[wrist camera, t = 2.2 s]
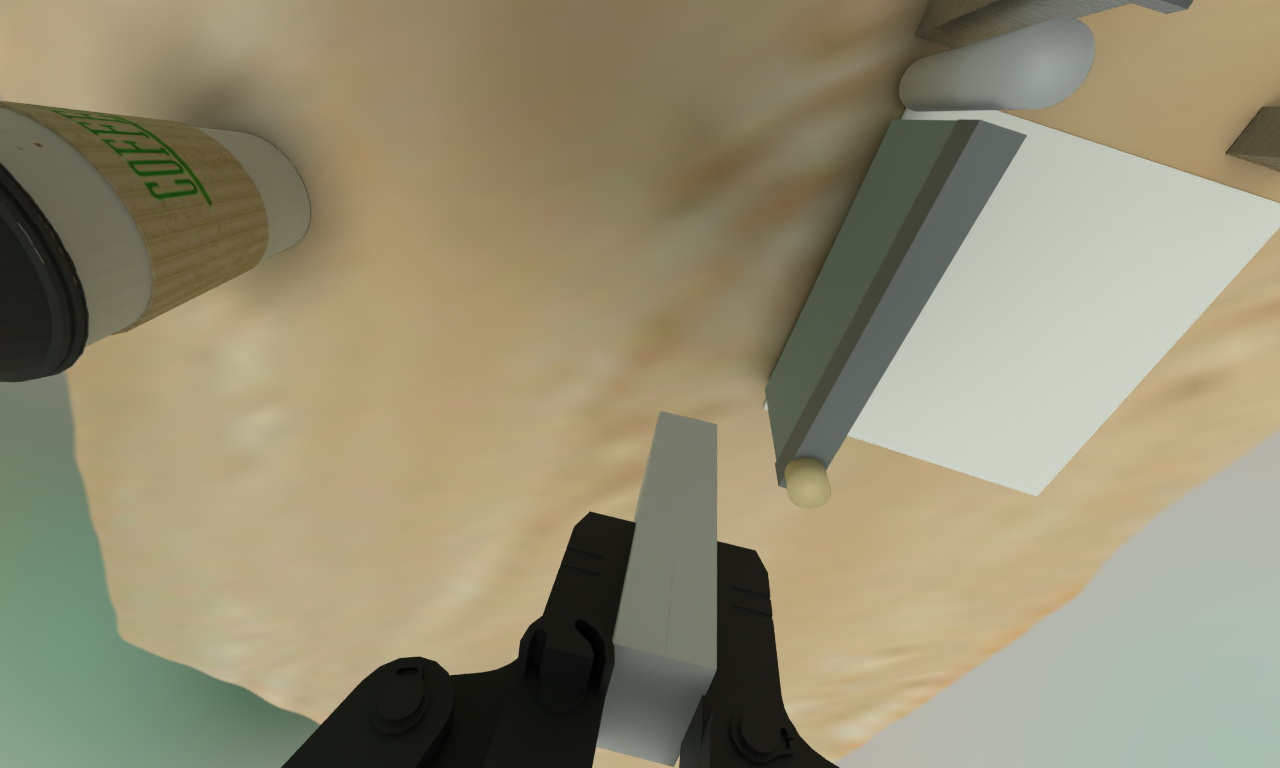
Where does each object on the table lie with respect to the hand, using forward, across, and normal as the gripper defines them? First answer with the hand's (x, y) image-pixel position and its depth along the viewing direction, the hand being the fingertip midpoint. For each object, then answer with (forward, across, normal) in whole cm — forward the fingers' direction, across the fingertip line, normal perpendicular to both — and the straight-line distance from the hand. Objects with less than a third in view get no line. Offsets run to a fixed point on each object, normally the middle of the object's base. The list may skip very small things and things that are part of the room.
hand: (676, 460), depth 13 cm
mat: (+16, +15, +2) cm, 22 cm away
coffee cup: (+16, -25, 0) cm, 30 cm away
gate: (+15, +6, +4) cm, 16 cm away
